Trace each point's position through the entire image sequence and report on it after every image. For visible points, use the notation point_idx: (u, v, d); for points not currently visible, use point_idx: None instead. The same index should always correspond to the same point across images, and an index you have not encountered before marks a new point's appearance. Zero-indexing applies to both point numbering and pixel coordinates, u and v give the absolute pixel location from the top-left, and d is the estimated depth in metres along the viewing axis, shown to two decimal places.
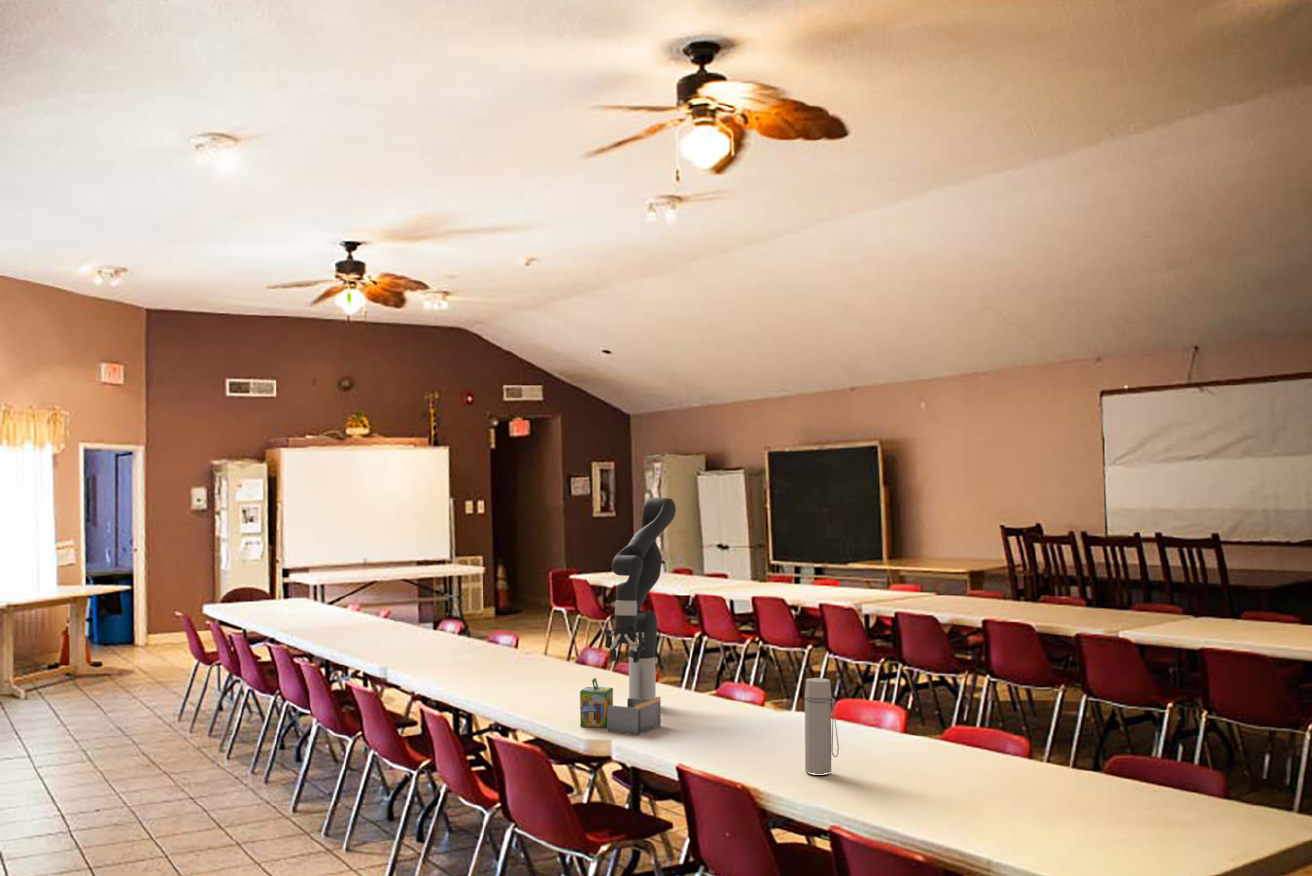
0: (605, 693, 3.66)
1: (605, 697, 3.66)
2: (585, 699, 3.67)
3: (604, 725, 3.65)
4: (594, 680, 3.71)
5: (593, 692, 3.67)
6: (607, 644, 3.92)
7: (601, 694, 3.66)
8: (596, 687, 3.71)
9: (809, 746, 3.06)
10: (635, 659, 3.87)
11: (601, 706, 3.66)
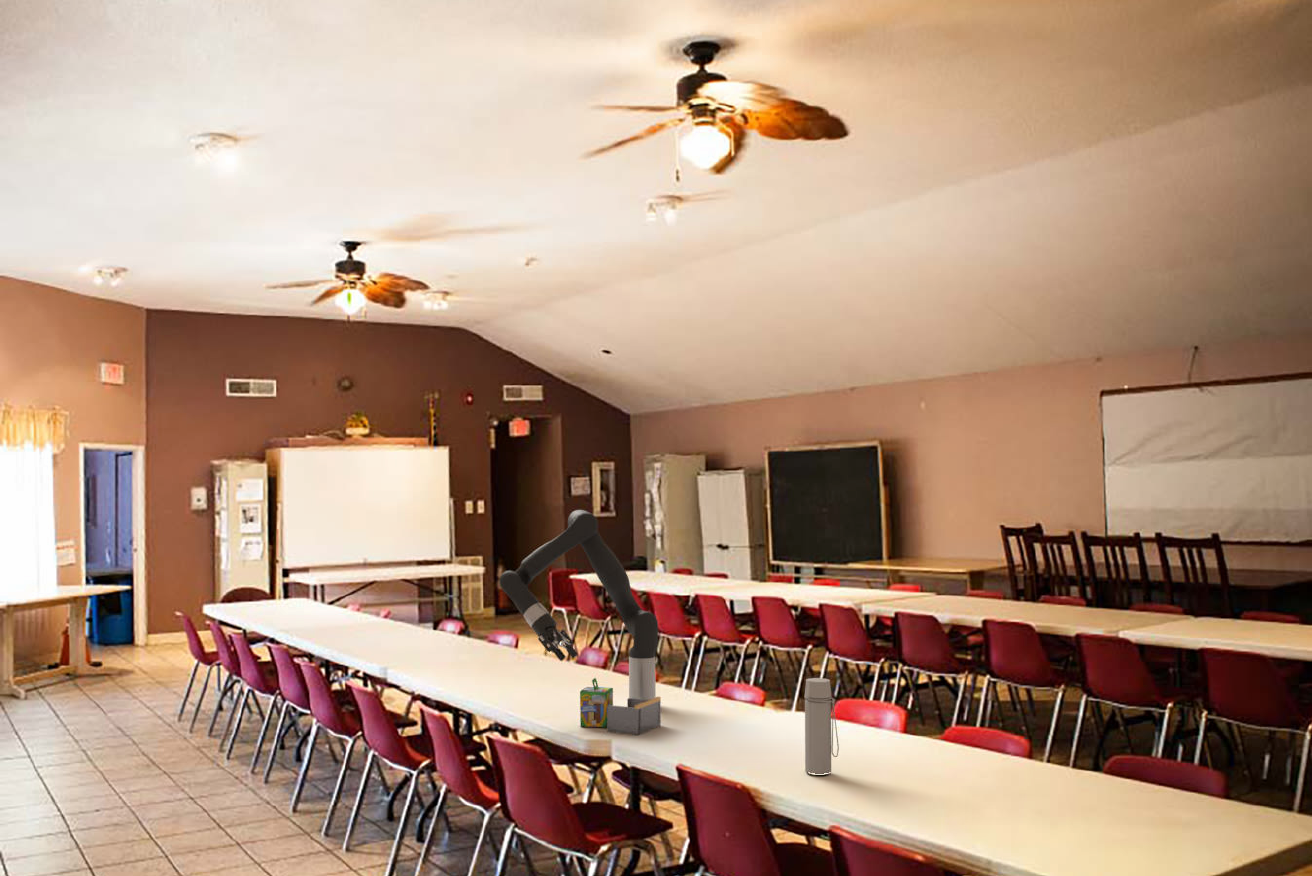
0: (605, 693, 3.66)
1: (605, 697, 3.66)
2: (585, 699, 3.67)
3: (604, 725, 3.65)
4: (594, 680, 3.71)
5: (593, 692, 3.67)
6: None
7: (601, 694, 3.66)
8: (596, 687, 3.71)
9: (809, 746, 3.06)
10: (559, 658, 3.73)
11: (601, 706, 3.66)
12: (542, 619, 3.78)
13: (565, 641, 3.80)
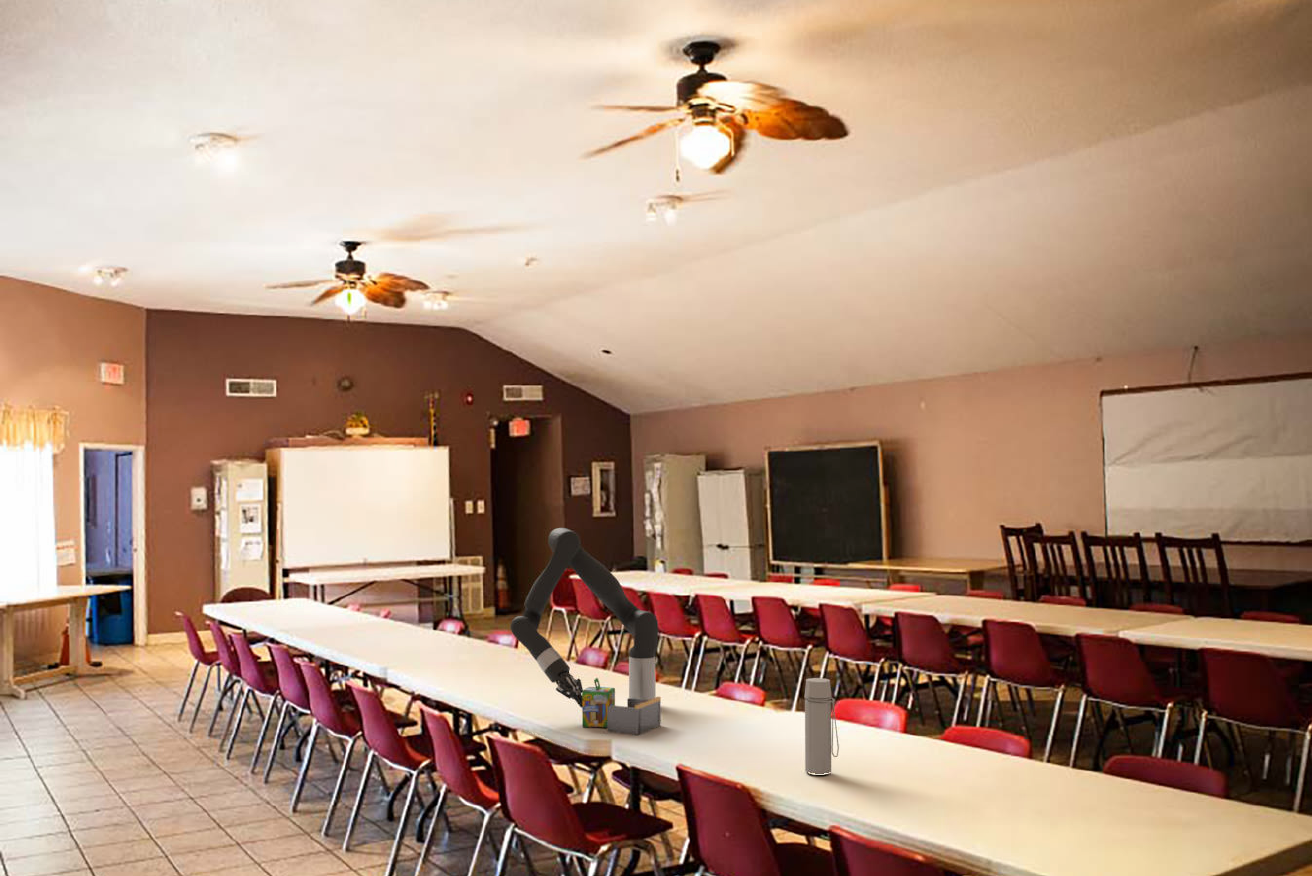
0: (607, 693, 3.66)
1: (607, 697, 3.66)
2: (588, 699, 3.67)
3: (606, 725, 3.65)
4: (596, 680, 3.71)
5: (595, 692, 3.67)
6: None
7: (603, 694, 3.66)
8: (598, 687, 3.71)
9: (809, 746, 3.06)
10: None
11: (603, 706, 3.66)
12: (555, 664, 3.75)
13: (575, 688, 3.75)
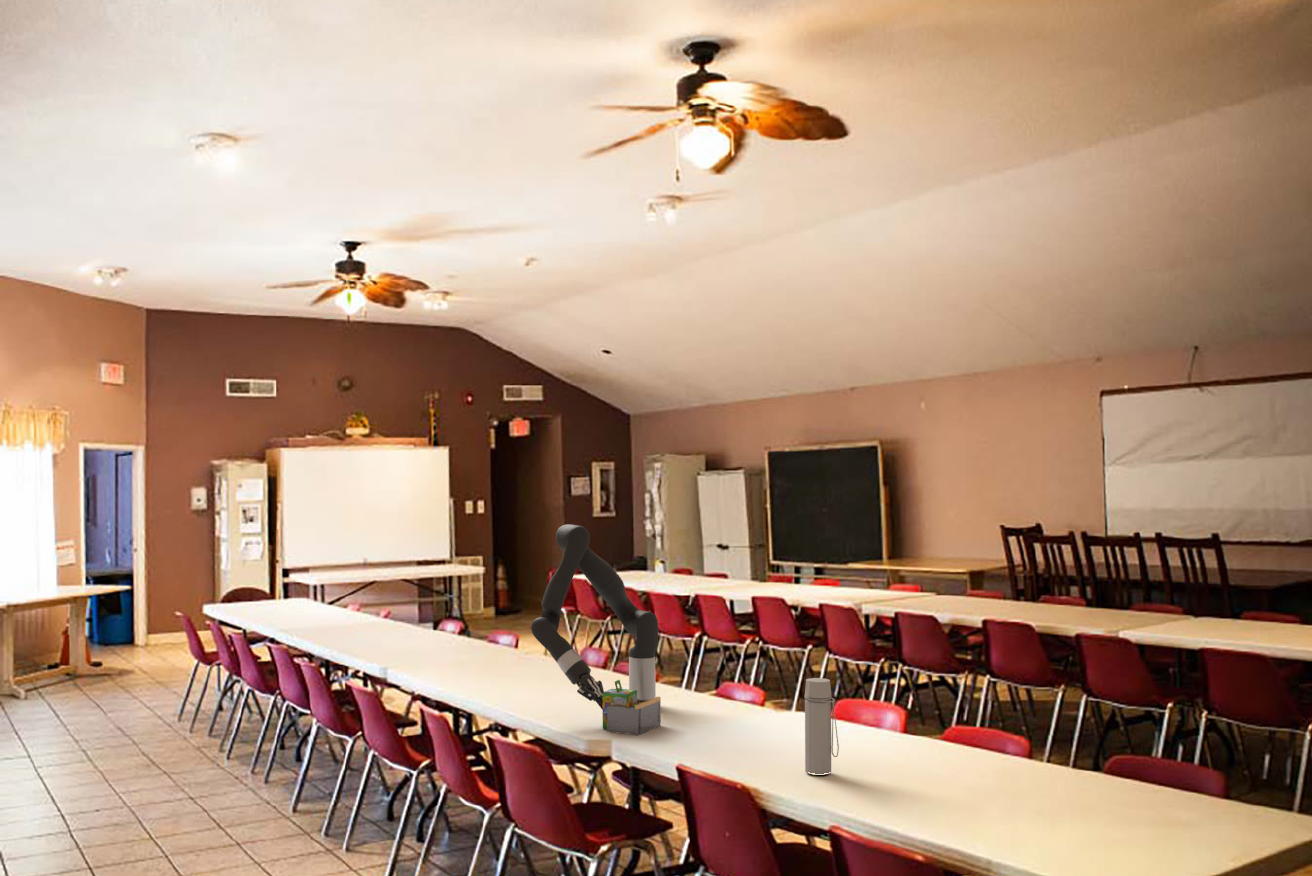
0: (627, 695, 3.62)
1: (627, 699, 3.62)
2: (608, 701, 3.64)
3: None
4: (617, 682, 3.67)
5: (615, 694, 3.63)
6: None
7: (623, 696, 3.62)
8: (619, 689, 3.67)
9: (809, 746, 3.06)
10: None
11: None
12: (576, 666, 3.71)
13: (596, 690, 3.71)
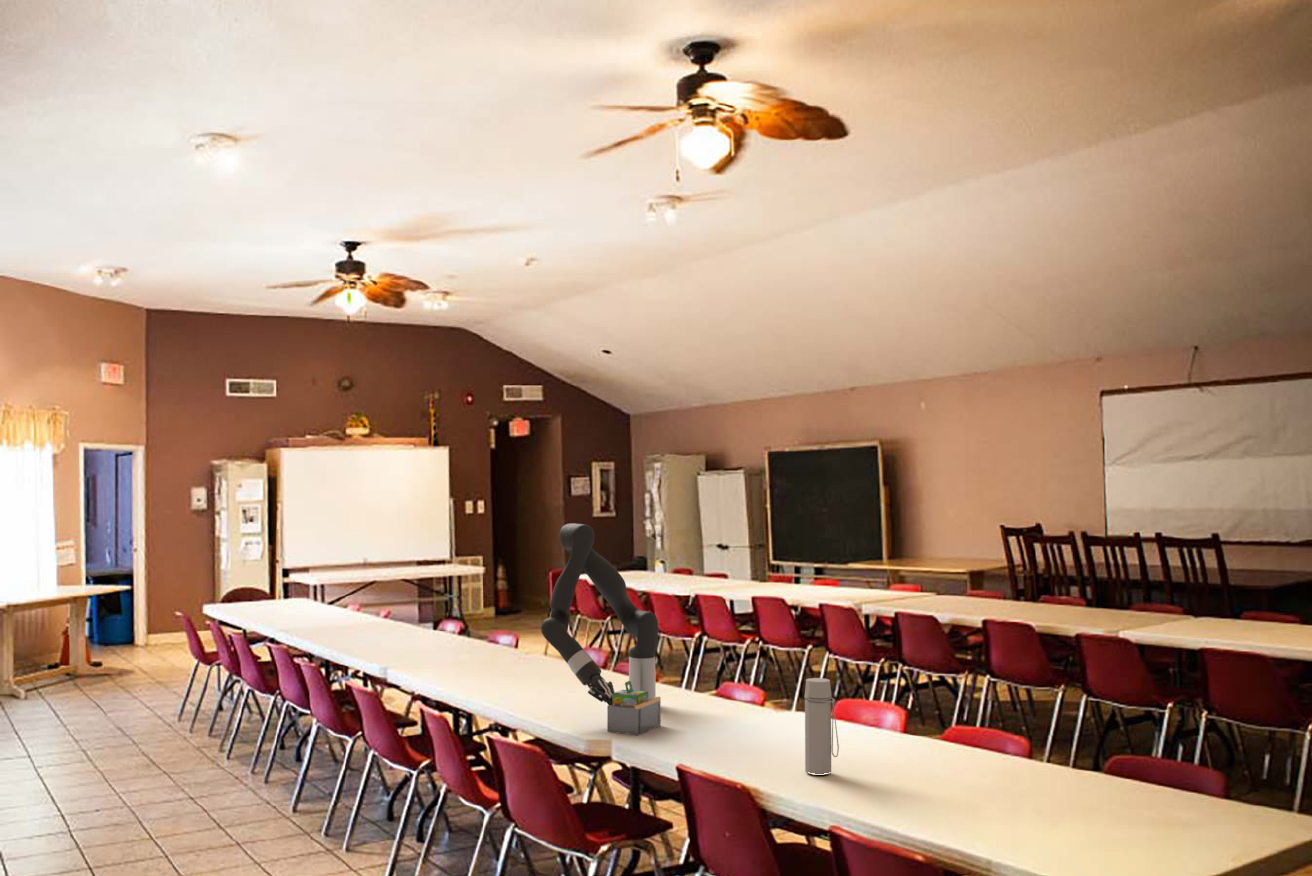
0: (636, 696, 3.60)
1: (636, 700, 3.60)
2: (617, 702, 3.62)
3: None
4: (628, 683, 3.66)
5: (625, 695, 3.61)
6: None
7: (632, 697, 3.60)
8: (630, 690, 3.65)
9: (809, 746, 3.06)
10: None
11: None
12: (587, 667, 3.70)
13: (607, 691, 3.70)
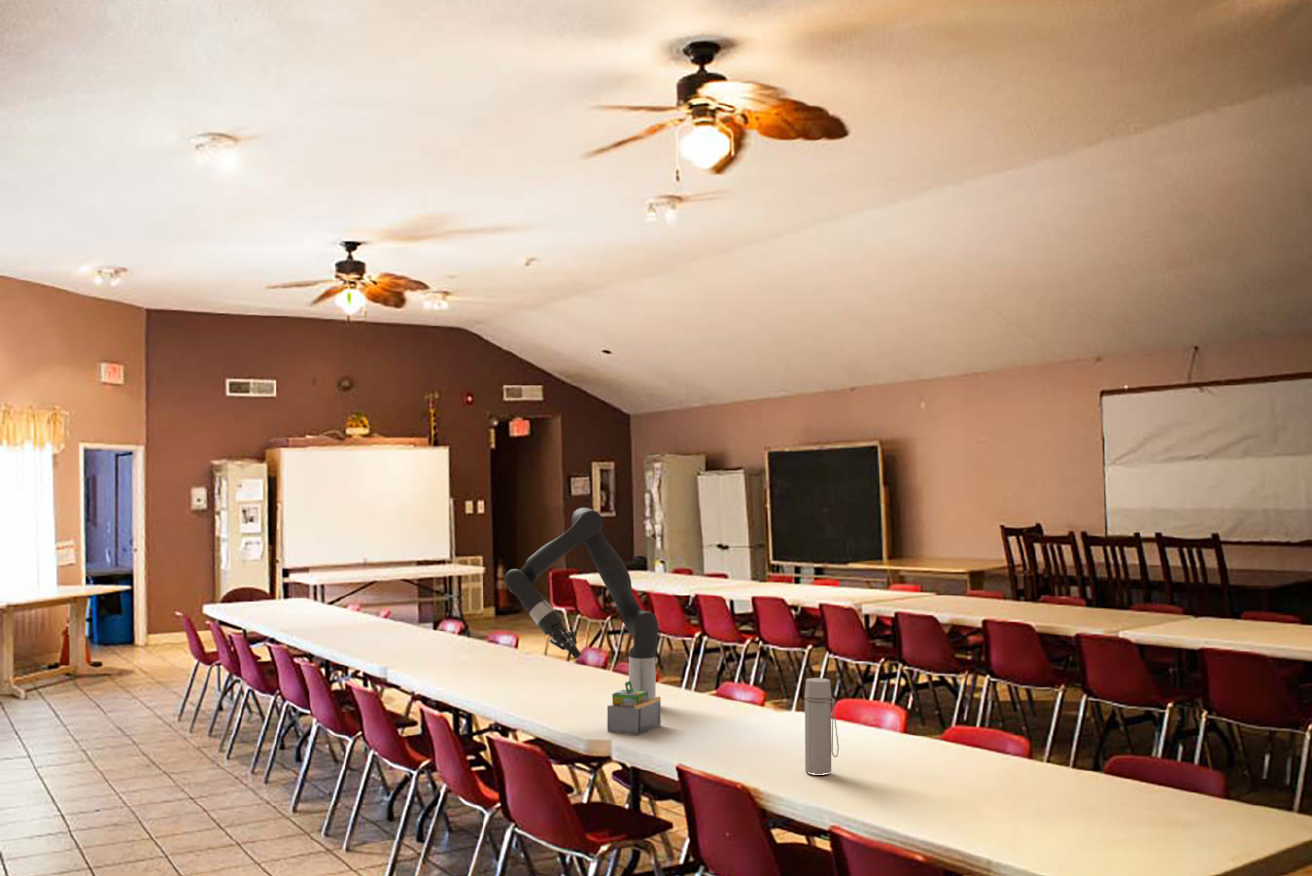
0: (636, 697, 3.60)
1: (636, 701, 3.60)
2: (618, 702, 3.62)
3: None
4: (628, 683, 3.66)
5: (625, 695, 3.61)
6: None
7: (632, 698, 3.60)
8: (630, 690, 3.65)
9: (809, 746, 3.06)
10: None
11: None
12: (548, 617, 3.77)
13: (569, 640, 3.77)
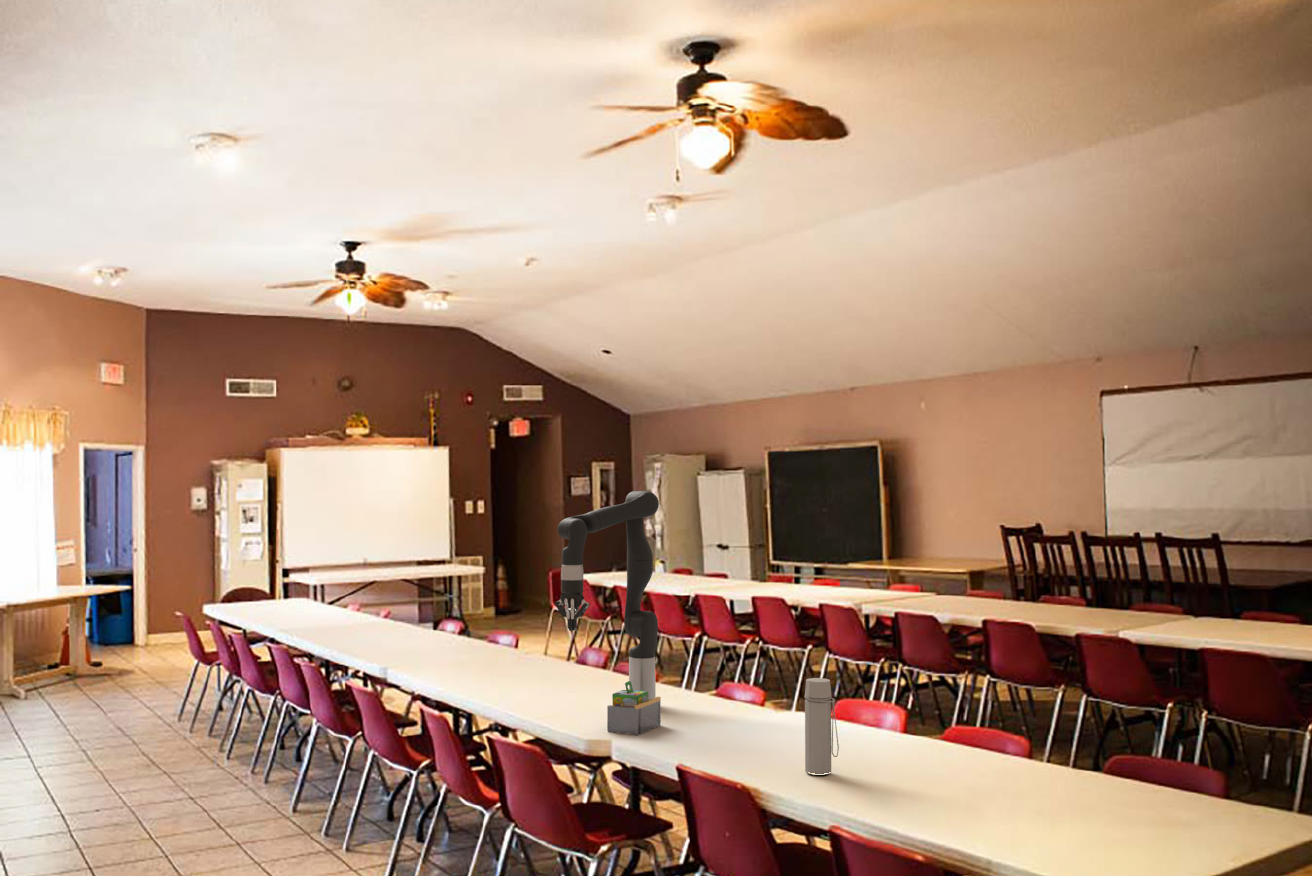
0: (636, 697, 3.60)
1: (636, 701, 3.60)
2: (618, 702, 3.62)
3: None
4: (628, 683, 3.66)
5: (625, 695, 3.61)
6: (564, 613, 3.83)
7: (632, 698, 3.60)
8: (630, 690, 3.65)
9: (809, 746, 3.06)
10: (572, 627, 3.82)
11: None
12: None
13: None
